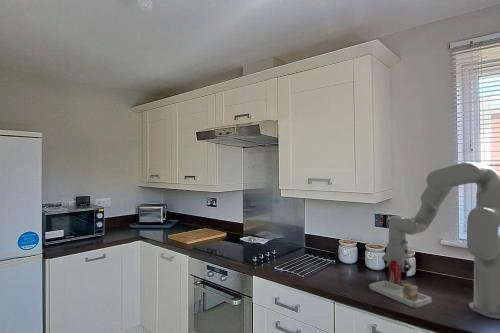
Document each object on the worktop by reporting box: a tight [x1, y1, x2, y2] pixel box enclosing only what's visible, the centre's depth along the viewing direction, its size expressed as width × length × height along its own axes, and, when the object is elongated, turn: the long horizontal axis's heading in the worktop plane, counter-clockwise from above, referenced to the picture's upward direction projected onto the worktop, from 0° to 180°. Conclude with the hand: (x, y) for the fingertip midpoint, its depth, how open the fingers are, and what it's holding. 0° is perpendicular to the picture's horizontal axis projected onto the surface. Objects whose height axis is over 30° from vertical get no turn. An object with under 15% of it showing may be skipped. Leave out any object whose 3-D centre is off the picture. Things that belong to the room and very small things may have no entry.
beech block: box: [402, 283, 419, 302], centre depth 129 cm, size 4×4×6 cm
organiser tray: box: [368, 279, 433, 309], centre depth 133 cm, size 22×12×2 cm, turn 29°
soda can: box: [388, 259, 406, 286], centre depth 149 cm, size 7×7×12 cm
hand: (396, 277), depth 149 cm, fingers closed on soda can, 7 cm apart
